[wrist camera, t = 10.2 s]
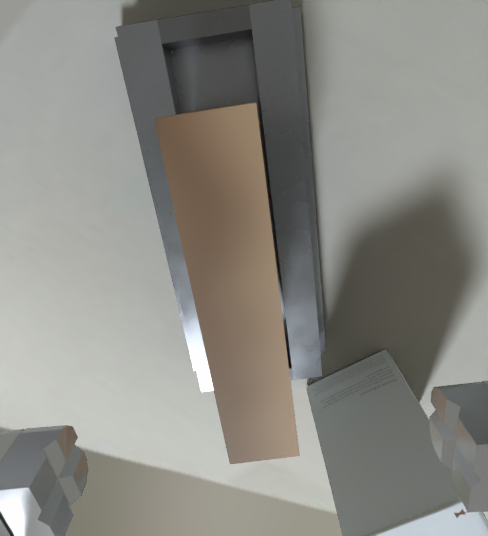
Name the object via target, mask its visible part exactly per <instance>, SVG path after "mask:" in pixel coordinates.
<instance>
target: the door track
mask: <svg viewBox="0 0 488 536" xmlns="http://www.w3.org/2000/svg"><path fill="white" fill-rule="evenodd" d="M116 30H117V34H118V37H115V42H116V46H117V51H118V55H119V59H120V63H121V67H122V72H123V76H124V80H125V84H126V88H127V93H128V97H129V101H130V105H131V109H132V114H133V118H134V122H135V126H136V130H137V135H138V139H139V143H140V147H141V151H142V156H143V160H144V164H145V168H146V172H147V177H148V181H149V185H150V189H151V193H152V198H153V202H154V206H155V210H156V214H157V219H158V223H159V227H160V231H161V235H162V240H163V244H164V248H165V252H166V256H167V261H168V265H169V269H170V273H171V277H172V282H173V286H174V290H175V294H176V298H177V303H178V307H179V311H180V315H181V319H182V324H183V328H184V332H185V336H186V340H187V345H188V349H189V353H190V357H191V361H192V366H193V370H194V371H195V370H196V371H197V375H198V380H199V384H200V388H201V392H204V391H212V390H214V389H213V384H212V380H211V375H210V371H209V366H208V362H207V357H206V353H205V348H204V343H203V339H202V334H201V330H200V325H199V321H198V316H197V312H196V307H195V303H194V298H193V293H192V289H191V284H190V280H189V275H188V271H187V266H186V262H185V257H184V253H183V248H182V243H181V239H180V234H179V230H178V225H177V221H176V216H175V212H174V207H173V203H172V198H171V193H170V189H169V184H168V180H167V175H166V171H165V166H164V162H163V157H162V153H161V148H160V143H159V139H158V134H157V130H156V125H155V121H154V119H155V118H160V117H166V116H171V115H176V114H181V113H186V112H191V111H197V110H203V109H210V108H216V107H222V106H229V105H235V104H241V103H256V104H257V112H258V120H259V129H260V137H261V145H262V153H263V161H264V169H265V177H266V186H267V194H268V202H269V210H270V218H271V226H272V234H273V243H274V251H275V259H276V267H277V275H278V283H279V291H280V300H281V308H282V316H283V324H284V332H285V340H286V348H287V357H288V365H289V373H290V381H291V380H298V379H306V378H314V377H322V366H321V354H326V342H325V328H324V315H323V302H322V288H321V275H320V261H319V248H318V235H317V221H316V208H315V194H314V181H313V168H312V154H311V141H310V128H309V114H308V101H307V87H306V74H305V61H304V47H303V34H302V20H301V7H296V8H292V0H274V1H268V2H262V3H256V4H250V5H244V6H238V7H232V8H226V9H220V10H214V11H208V12H202V13H196V14H190V15H184V16H178V17H172V18H166V19H160V20H154V21H148V22H142V23H136V24H130V25H124V26H118V27H116Z"/></svg>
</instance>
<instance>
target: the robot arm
mask: <svg viewBox="0 0 488 536" xmlns="http://www.w3.org/2000/svg"><path fill="white" fill-rule="evenodd" d="M431 403H432V404H433V406H434V408H435V409H436V410H435V412H434V413H433V414H432V415H431V416H430V424H429V429H430V435H431V440H432V443H433V446H434V449H435V451H436V453H437V455H438V457H439V459H440V461H441V463H443V464H444V465H446V466H447V467H448V468H450V469H451V470H452V478H451V482H452V484H453V486H454V488H455V490H456V491H457V493H458V495H459V497H460V499H461V501H462V503H463V504H464V506H465V508H466V510H467V512H485V511H488V381H482V382H474V383H465V384H457V385H448V386H439V387H434V388H433V390H432V393H431ZM77 438H78V437H77V435H76V433H75V431H74V428H73V427H72V426H67V425H65V426H53V427H40V428H27V429H21V430H7V431H5V432H3V433H1V434H0V536H65V534H66V532H67V529H68V527H69V524H70V522H71V520H72V517H73V513H72V509H71V505H72V504H73V503H74V502H75V501H76V500H77V499H78V498H79V497H80V496H82V493H83V490H84V488H85V485H86V481H87V474H88V465H87V458H86V456H85V453H84V451H83V450H81V449H80V448H78V447H77V446H75V445H74V444H75V442H76V440H77Z"/></svg>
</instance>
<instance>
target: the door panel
mask: <svg viewBox="0 0 488 536" xmlns="http://www.w3.org/2000/svg"><path fill="white" fill-rule="evenodd" d="M154 121H155V125H156V130H157V134H158V139H159V143H160V148H161V153H162V157H163V162H164V166H165V171H166V175H167V180H168V184H169V189H170V193H171V198H172V203H173V207H174V212H175V216H176V221H177V225H178V230H179V234H180V239H181V243H182V248H183V253H184V257H185V262H186V266H187V271H188V275H189V280H190V284H191V289H192V293H193V298H194V303H195V307H196V312H197V316H198V321H199V325H200V330H201V334H202V339H203V343H204V348H205V353H206V357H207V362H208V366H209V371H210V375H211V380H212V384H213V389H214V393H215V398H216V403H217V407H218V412H219V416H220V421H221V425H222V430H223V434H224V439H225V443H226V448H227V453H228V457H229V462H230V464H236V463H244V462H253V461H261V460H269V459H278V458H286V457H294V456H300V454H299V446H298V438H297V430H296V422H295V414H294V405H293V397H292V389H291V381H290V373H289V365H288V357H287V348H286V340H285V332H284V324H283V316H282V308H281V300H280V291H279V283H278V275H277V267H276V259H275V251H274V243H273V234H272V226H271V218H270V210H269V202H268V194H267V186H266V177H265V169H264V161H263V153H262V145H261V137H260V129H259V120H258V112H257V104H256V103H241V104H235V105H229V106H222V107H216V108H210V109H203V110H197V111H191V112H186V113H181V114H176V115H171V116H166V117H160V118H155V119H154Z"/></svg>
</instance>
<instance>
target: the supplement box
mask: <svg viewBox="0 0 488 536" xmlns="http://www.w3.org/2000/svg"><path fill="white" fill-rule="evenodd" d="M307 393H308V397H309V402H310V406H311V410H312V414H313V418H314V422H315V426H316V430H317V434H318V438H319V442H320V446H321V450H322V454H323V458H324V462H325V466H326V470H327V474H328V478H329V482H330V486H331V490H332V494H333V499H334V503H335V507H336V511H337V515H338V519H339V523H340V527H341V531H342V535H343V536H488V521H487V519H486V517H485V515H484V513H483V512H467V510H466V508H465V506H464V504H463V503H462V501H461V499H460V497H459V495H458V493H457V491H456V490H455V488H454V486H453V484H452V482H451V478H452V470H451V469H450V468H448V467H447V466H446V465H444V464H443V463H441V461H440V459H439V457H438V455H437V453H436V451H435V449H434V446H433V443H432V440H431V435H430V429H429V424H430V420H429V419H428V417H427V415H426V414H425V412H424V410H423V409H422V407H421V405H420V403H419V402H418V400H417V398H416V397H415V395H414V393H413V392H412V390H411V388H410V387H409V385H408V383H407V382H406V380H405V378H404V376H403V375H402V373H401V372H400V370H399V368H398V367H397V365H396V364H395V362H394V360H393V359H392V357H391V355H390V354H389V352H388V350H386V349H385V350H383V351H380V352H378V353H376V354H374V355H371V356H369V357H367V358H365V359H363V360H361V361H359V362H357V363H354V364H352V365H350V366H348V367H346V368H344V369H342V370H340V371H338V372H335V373H334V374H331V375H329V376H327V377H325V378H323V379H321V380H319V381H317V382H315V383H313V384H311V385H309V386H308V387H307Z"/></svg>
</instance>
